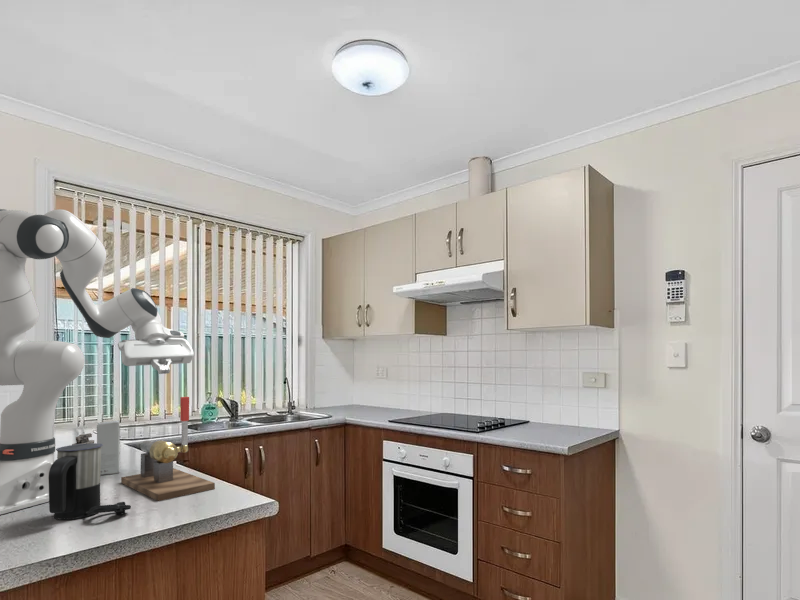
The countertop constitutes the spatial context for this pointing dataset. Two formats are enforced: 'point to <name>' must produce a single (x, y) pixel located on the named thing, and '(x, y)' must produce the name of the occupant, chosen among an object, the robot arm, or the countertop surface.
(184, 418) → the valve lever
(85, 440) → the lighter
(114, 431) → the skincare box
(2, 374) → the robot arm
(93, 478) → the milk frother
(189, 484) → the valve rig
